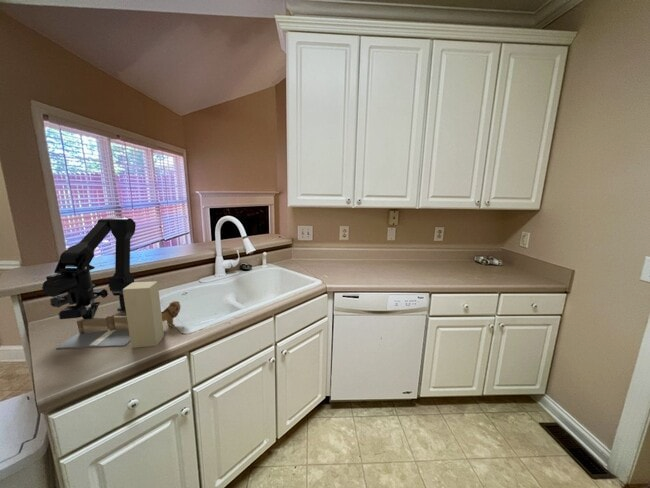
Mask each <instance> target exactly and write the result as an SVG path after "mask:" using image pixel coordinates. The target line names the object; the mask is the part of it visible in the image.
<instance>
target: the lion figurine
mask: <svg viewBox="0 0 650 488" xmlns="http://www.w3.org/2000/svg"><path fill="white" fill-rule="evenodd" d="M180 311H181V304H180V301H176V300H174V301H171V302H170V303H169V305H168V306H167V307H166V308H165V309H164V310H162V311H161V314H162V322H163V323H164V322H165V321H166V323H167V325H168V326H171V327H172V328H173V327H176V326H175V324H174V318H176V317H177V316H179V313H180Z"/></svg>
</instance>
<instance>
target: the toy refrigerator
mask: <svg viewBox="0 0 650 488" xmlns="http://www.w3.org/2000/svg"><path fill="white" fill-rule="evenodd" d="M159 291H160V290H159V283H158V281H155V280H154V281H134V282H133V283H131V284H130V285H128V286H127V287H125V288H124V289H123V296H124V302H125V309H126V310H125V313H126V315H125V316H127V322H128V328H129V335H130V347H131V348H133V349H134V348H136V349H137V348H146V347H147V348H149V347H156V346H158V344H159V343H160V342H161V340H162V339H163V338H164V337H165V334H164V333H165V331H164V321H163V322H162V314H161V312H162V309H161V300H160V292H159Z"/></svg>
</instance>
